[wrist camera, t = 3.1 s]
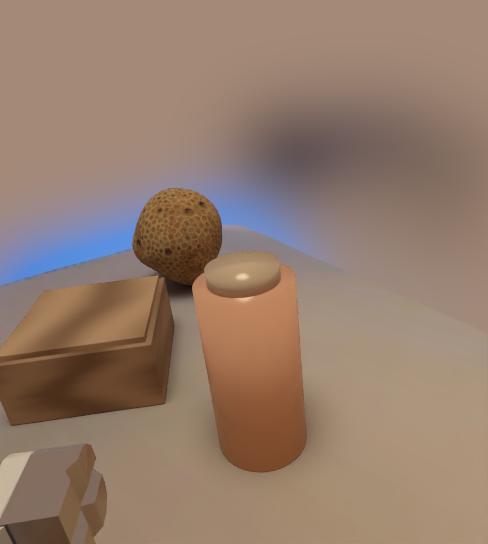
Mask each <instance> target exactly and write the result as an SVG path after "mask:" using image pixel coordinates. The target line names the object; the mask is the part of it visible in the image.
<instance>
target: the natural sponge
mask: <svg viewBox="0 0 488 544" xmlns="http://www.w3.org/2000/svg"><path fill="white" fill-rule="evenodd" d="M221 244H222V225H221V219H220V215H219V213H218V211H217V209H216V208H215V206H214V205H213V204H212V203H211V202H210V201H209V200H208V199H207V198H206V197H205V196H203V195H201V194H199V193H198V192H195V191H192V190H187V189H181V188H170V189H166V190H163V191H161V192H159V193H158V194H156V195H155V196H153V197H152V198H151V199H150V200H149V201H148V203H147V204H146V205H145V207H144V208H143V210H142V212H141V214H140V216H139V219H138V222H137V225H136V229H135V233H134V236H133V243H132V246H133V250H134V253H135V255H136V257H137V258H138V259H139V260H140V261H141V262H142V263H143V264H145V265H146V266H148V267H150V268H152V269H153V270H155V271H157V272H158V273H160V274H162V275H164V276H166V277H167V278H169V279H171V280H173V281H175V282H177V283H179V284H182V285H193V283H194V281H195V280H196V279H197V278H198V277H199V276H200V275H201V274H202V273H204V268H205V266H206V265H207V264H208V263H209V262H210V261H212V260H213V259H215V258H217V256H218V254H219V251H220V248H221Z"/></svg>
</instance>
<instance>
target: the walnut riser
mask: <svg viewBox="0 0 488 544" xmlns="http://www.w3.org/2000/svg"><path fill="white" fill-rule="evenodd" d="M173 332H174V321H173V316H172V311H171V306H170V301H169V297H168V292H167V287H166V282H165V277H162V278H159V276H151V277H143V278H136V279H128V280H121V281H114V282H106V283H99V284H91V285H84V286H77V287H69V288H62V289H54V290H47V291H44V292H43V293H42V294H41V296H40V297H39V298H38V300H37V301H36V302H35V304H34V305H33V306H32V308H31V309H30V310H29V312H28V313H27V314H26V316H25V317H24V318H23V320H22V321H21V322H20V323H19V325H18V326H17V327H16V329H15V330H14V331H13V333H12V334H11V335H10V337H9V338H8V339H7V341H6V342H5V343H4V345H3V346H2V347H1V349H0V400H1V403H2V405H3V407H4V410H5V412H6V414H7V416H8V419H9V421H10V423H11V426H12V425H18V424H25V423H32V422H39V421H46V420H53V419H60V418H67V417H74V416H81V415H88V414H95V413H102V412H109V411H116V410H123V409H129V408H136V407H143V406H150V405H157V404H164V403H165V398H166V389H167V381H168V373H169V365H170V357H171V348H172V340H173Z"/></svg>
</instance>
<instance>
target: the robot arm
mask: <svg viewBox="0 0 488 544" xmlns="http://www.w3.org/2000/svg"><path fill="white" fill-rule="evenodd" d="M95 460H96V456H95V454H94V451H93V449H92V446H91V445H89V444H79V445H72V446H64V447H56V448H49V449H41V450H36V451H31V452H23V453H15V454H10V455H9V456H8V457H6V458H5V459H4V460H3V461H2V463H1V465H0V544H96V543H95V540H94V536H95V535H96V534H97V533H98V532H99V531H100V529H101V528H102V527H103V525H104V520H105V516H106V508H107V492H106V486H105V482H104V479H103V476H102V474H101V473H99V472H98V471H96V470H95V469H93V467H94V463H95Z"/></svg>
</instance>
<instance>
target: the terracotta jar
mask: <svg viewBox="0 0 488 544" xmlns="http://www.w3.org/2000/svg"><path fill="white" fill-rule="evenodd" d="M192 291H193V296H194V302H195V308H196V313H197V319H198V324H199V330H200V336H201V341H202V347H203V352H204V358H205V364H206V369H207V375H208V380H209V386H210V392H211V397H212V403H213V409H214V414H215V420H216V425H217V431H218V437H219V442H220V447H221V450H222V452H223V454H224V456H225V457H226V459H227V460H228V461H229V462H231V463H232V464H233V465H235V466H237V467H239V468H241V469H244V470H248V471H253V472H267V471H273V470H277V469H280V468H282V467H284V466H286V465H288V464H290V463H291V462H292V461H294V460H295V459H296V458H297V457H298V456H299V455H300V453H301V452H302V450H303V448H304V446H305V443H306V423H305V408H304V394H303V379H302V364H301V349H300V335H299V320H298V305H297V291H296V276H295V273H294V272H293V270H292V269H291V268H289V267H288V266H286V265H284V264H281V263H280V262H279V259H278V258H277V257H276V256H274V255H272V254H270V253H266V252H261V251H241V252H234V253H229V254H226V255H223V256H220V257H217V258H215V259H213V260H212V261H210V262H209V263H208V264H207V265H206V266H205V268H204V273H202V274H201V275H200V276H199V277H198V278H197V279H196V280H195V281H194V283H193V286H192Z"/></svg>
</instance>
